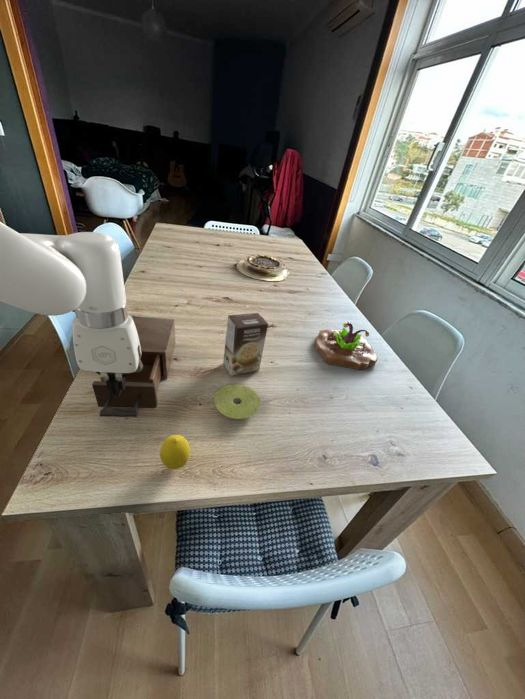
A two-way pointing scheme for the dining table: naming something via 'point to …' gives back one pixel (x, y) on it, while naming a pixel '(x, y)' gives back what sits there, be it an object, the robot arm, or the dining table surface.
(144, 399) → the drawer
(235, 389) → the green disc
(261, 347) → the coffee box
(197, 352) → the dining table surface
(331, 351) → the plant
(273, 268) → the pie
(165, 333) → the cabinet
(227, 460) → the dining table surface
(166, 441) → the lemon
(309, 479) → the dining table surface
